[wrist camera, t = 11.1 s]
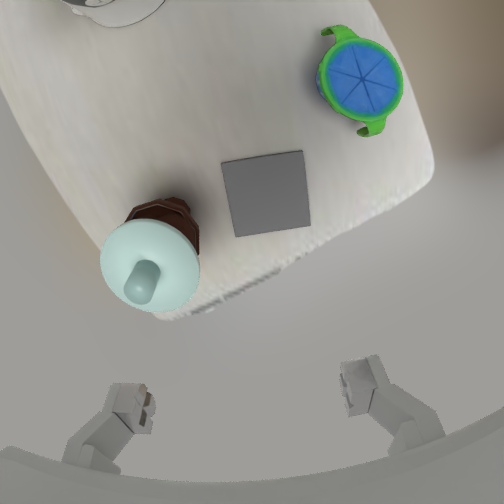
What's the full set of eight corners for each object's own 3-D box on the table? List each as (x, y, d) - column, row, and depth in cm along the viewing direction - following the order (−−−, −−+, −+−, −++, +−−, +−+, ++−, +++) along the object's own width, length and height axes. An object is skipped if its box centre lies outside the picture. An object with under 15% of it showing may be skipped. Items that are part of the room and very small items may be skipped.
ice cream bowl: (207, 180, 45) (191, 219, 32) (206, 246, 50) (194, 303, 37) (140, 179, 44) (101, 217, 31) (145, 243, 50) (115, 297, 36)
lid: (90, 229, 32) (70, 251, 27) (185, 209, 31) (175, 230, 27) (124, 310, 37) (112, 337, 33) (210, 300, 37) (207, 329, 32)
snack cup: (291, 38, 35) (304, 22, 26) (358, 30, 33) (387, 17, 25) (317, 137, 42) (337, 149, 33) (381, 125, 41) (413, 136, 32)
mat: (221, 162, 44) (220, 164, 43) (302, 150, 43) (303, 151, 42) (235, 235, 49) (235, 237, 49) (309, 223, 49) (310, 225, 48)
